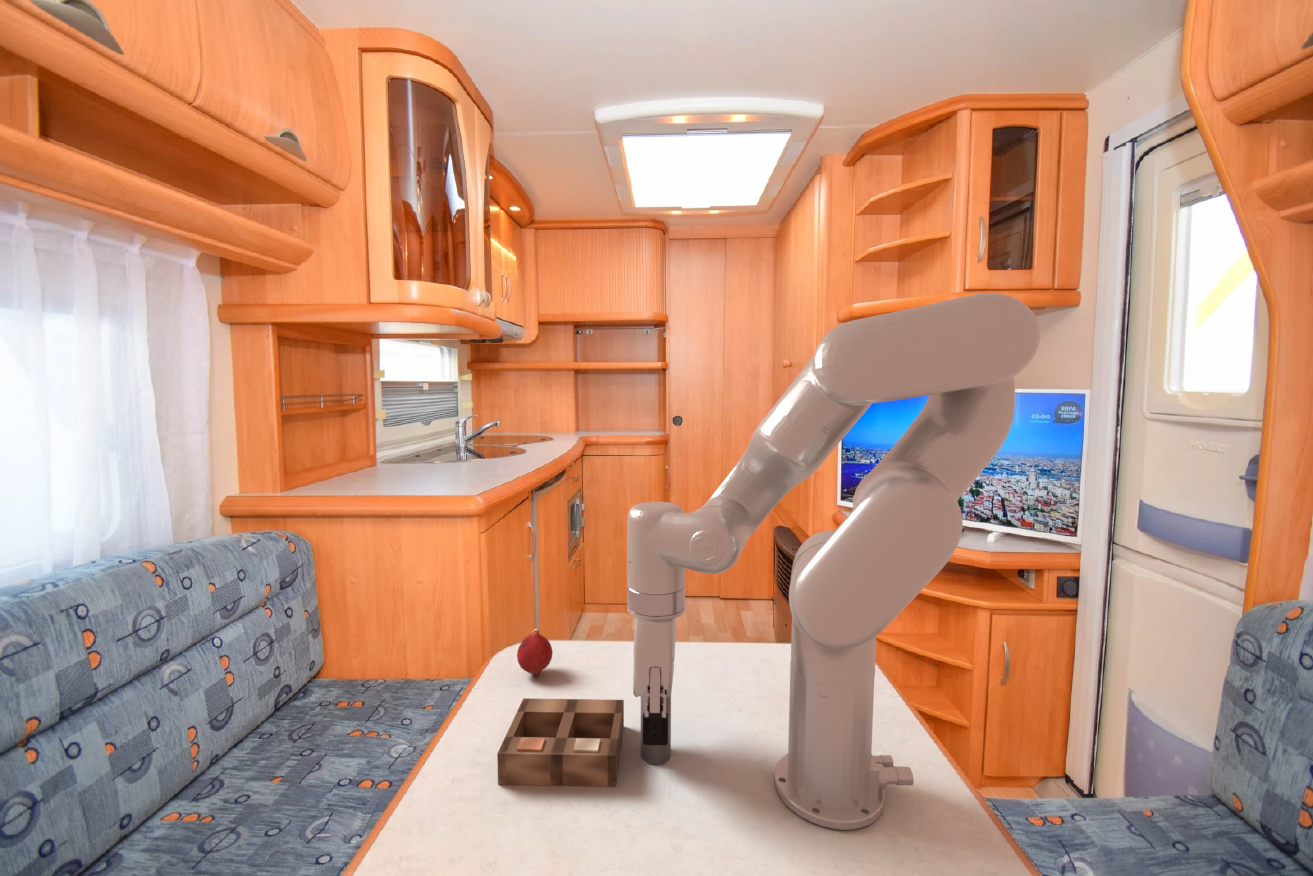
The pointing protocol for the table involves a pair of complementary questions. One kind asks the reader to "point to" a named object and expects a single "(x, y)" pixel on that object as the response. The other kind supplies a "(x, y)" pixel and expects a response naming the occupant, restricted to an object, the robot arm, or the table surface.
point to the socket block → (563, 743)
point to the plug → (656, 752)
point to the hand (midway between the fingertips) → (655, 731)
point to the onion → (534, 653)
